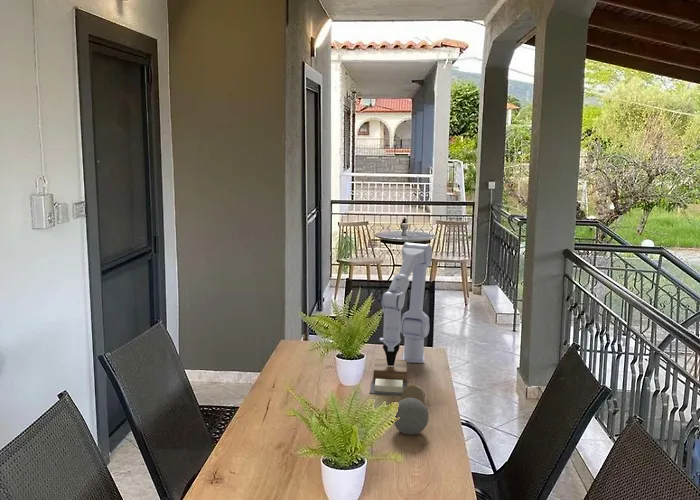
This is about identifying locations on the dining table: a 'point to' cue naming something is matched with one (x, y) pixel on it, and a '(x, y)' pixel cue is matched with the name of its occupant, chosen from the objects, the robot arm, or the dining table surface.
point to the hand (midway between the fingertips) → (390, 365)
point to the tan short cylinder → (413, 393)
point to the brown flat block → (390, 370)
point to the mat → (372, 391)
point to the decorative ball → (411, 416)
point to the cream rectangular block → (389, 385)
